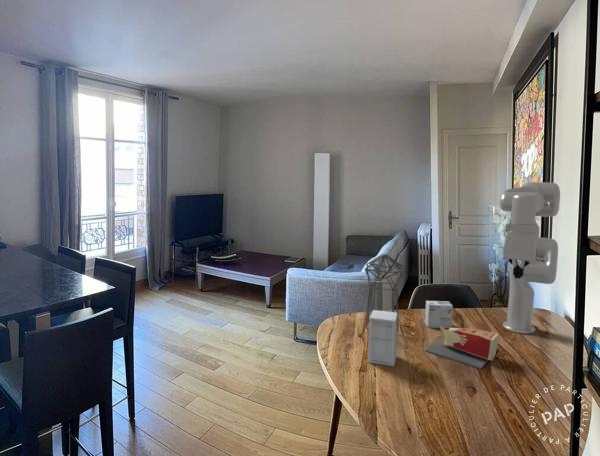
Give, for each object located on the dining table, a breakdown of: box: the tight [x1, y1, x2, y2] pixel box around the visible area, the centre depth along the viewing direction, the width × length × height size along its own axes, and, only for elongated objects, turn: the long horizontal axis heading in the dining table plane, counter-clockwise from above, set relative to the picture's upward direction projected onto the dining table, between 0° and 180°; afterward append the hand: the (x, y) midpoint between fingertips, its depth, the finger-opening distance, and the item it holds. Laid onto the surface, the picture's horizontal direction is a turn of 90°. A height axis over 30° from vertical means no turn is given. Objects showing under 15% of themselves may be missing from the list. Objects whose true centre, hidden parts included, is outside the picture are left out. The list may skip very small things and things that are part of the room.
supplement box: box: [367, 309, 399, 367], centre depth 136 cm, size 10×9×17 cm
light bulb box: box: [424, 300, 454, 329], centre depth 170 cm, size 11×7×11 cm, turn 84°
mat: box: [425, 338, 499, 370], centre depth 145 cm, size 22×20×1 cm
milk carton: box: [439, 326, 499, 362], centre depth 143 cm, size 9×9×20 cm
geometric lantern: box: [364, 253, 405, 333], centre depth 156 cm, size 16×16×35 cm
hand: (517, 277), depth 137 cm, fingers closed
